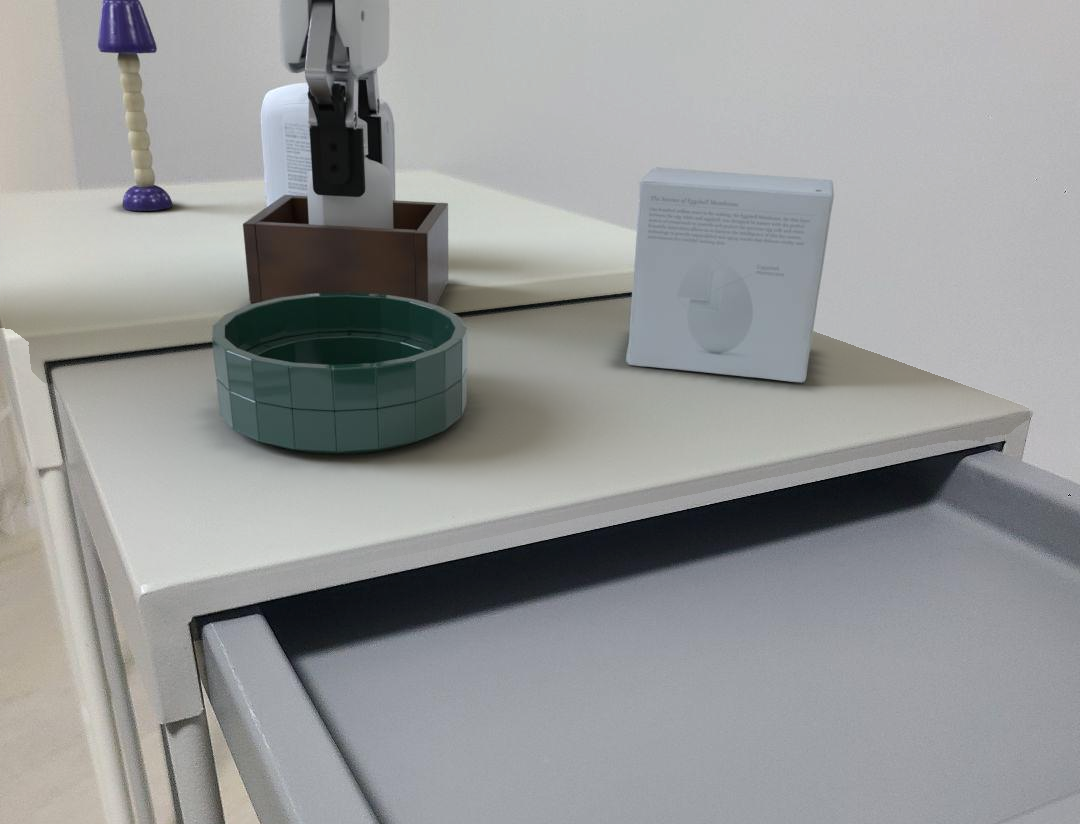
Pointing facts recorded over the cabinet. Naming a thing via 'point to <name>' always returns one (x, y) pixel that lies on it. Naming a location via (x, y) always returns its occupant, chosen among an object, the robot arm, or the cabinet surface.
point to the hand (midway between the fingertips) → (349, 183)
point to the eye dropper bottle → (356, 199)
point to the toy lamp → (133, 94)
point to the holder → (347, 253)
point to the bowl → (340, 371)
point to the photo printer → (301, 141)
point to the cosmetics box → (728, 272)
